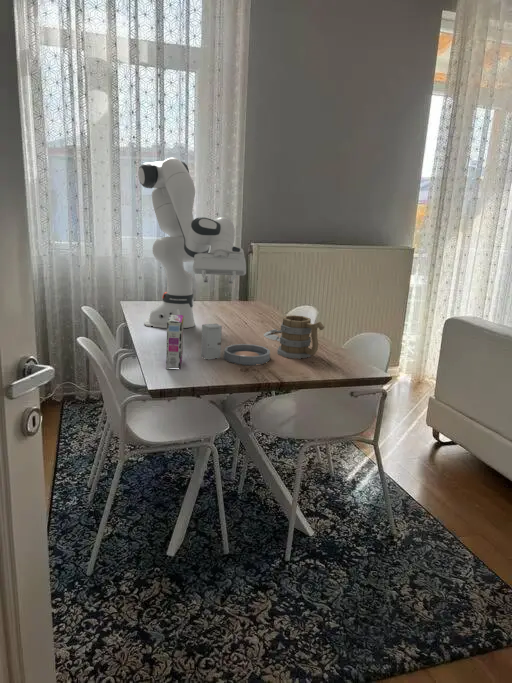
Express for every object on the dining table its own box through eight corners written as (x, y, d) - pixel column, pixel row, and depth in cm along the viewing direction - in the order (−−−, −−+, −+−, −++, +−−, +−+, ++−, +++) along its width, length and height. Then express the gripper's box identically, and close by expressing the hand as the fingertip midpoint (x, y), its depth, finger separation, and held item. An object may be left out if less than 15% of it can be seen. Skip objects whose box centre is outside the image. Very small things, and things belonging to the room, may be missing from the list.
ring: (275, 344, 211) (276, 339, 210) (256, 332, 228) (256, 328, 227) (316, 342, 219) (317, 337, 218) (295, 330, 236) (295, 326, 235)
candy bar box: (181, 370, 172) (182, 322, 167) (165, 369, 171) (166, 321, 167) (183, 359, 183) (184, 314, 178) (168, 359, 182) (169, 314, 178)
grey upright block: (206, 360, 184) (207, 327, 181) (200, 356, 187) (201, 324, 184) (221, 358, 187) (222, 325, 184) (215, 354, 191) (216, 322, 188)
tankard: (271, 351, 199) (273, 313, 195) (296, 347, 207) (298, 311, 203) (305, 366, 184) (309, 325, 180) (331, 361, 191) (335, 321, 187)
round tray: (221, 363, 181) (221, 355, 180) (225, 350, 197) (226, 342, 196) (269, 366, 180) (270, 358, 180) (270, 353, 197) (270, 345, 196)
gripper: (193, 247, 198) (189, 275, 191) (247, 249, 197) (244, 277, 190) (195, 257, 203) (191, 285, 196) (247, 259, 203) (245, 288, 196)
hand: (218, 282), depth 193 cm, fingers open, 8 cm apart
